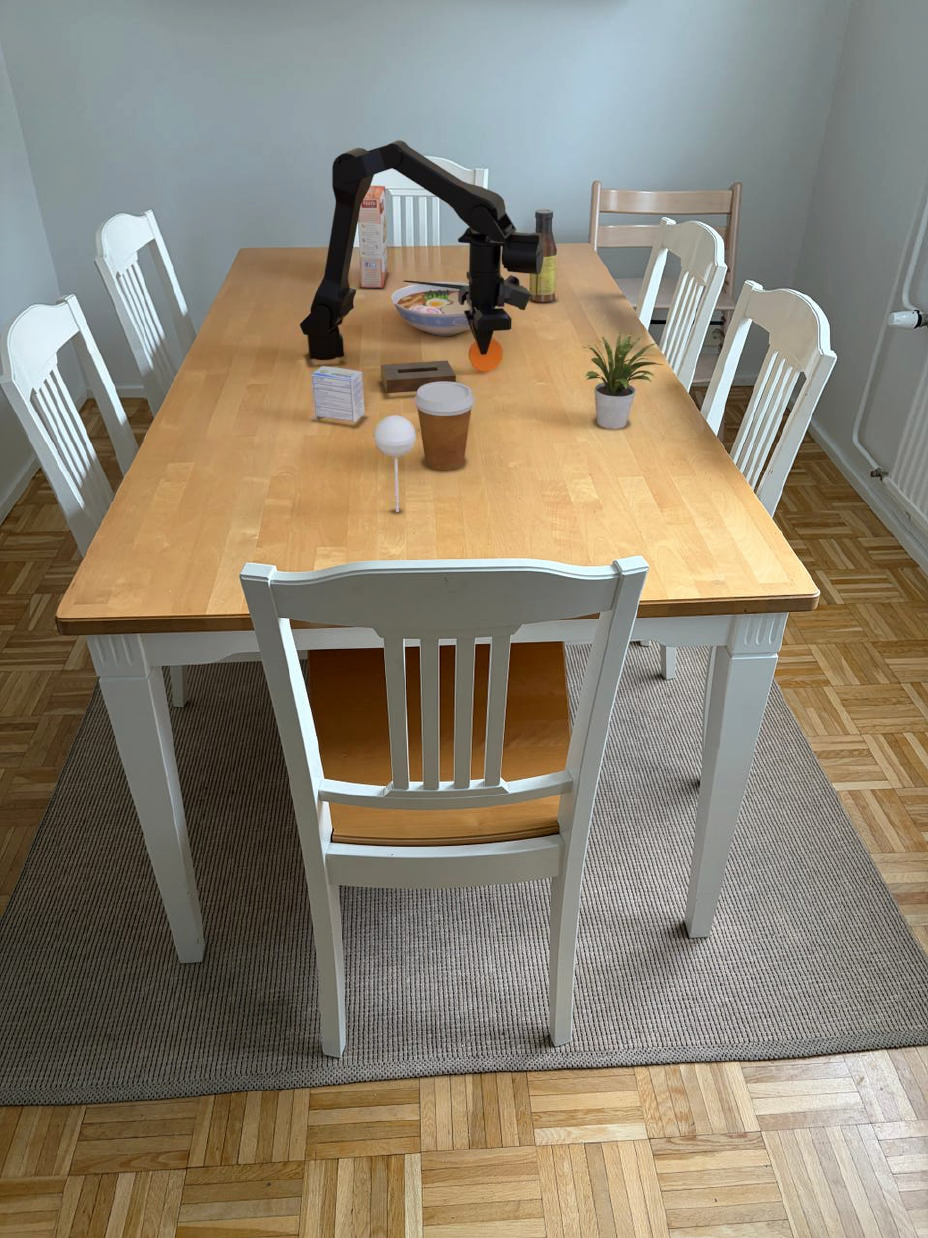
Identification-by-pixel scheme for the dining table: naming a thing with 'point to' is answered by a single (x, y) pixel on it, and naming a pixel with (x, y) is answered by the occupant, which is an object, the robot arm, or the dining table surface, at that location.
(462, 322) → the ramen bowl
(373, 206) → the cracker box
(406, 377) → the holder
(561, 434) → the dining table surface
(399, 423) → the lollipop
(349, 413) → the medicine box
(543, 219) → the sauce bottle
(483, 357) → the token
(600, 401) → the house plant
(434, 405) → the disposable coffee cup
